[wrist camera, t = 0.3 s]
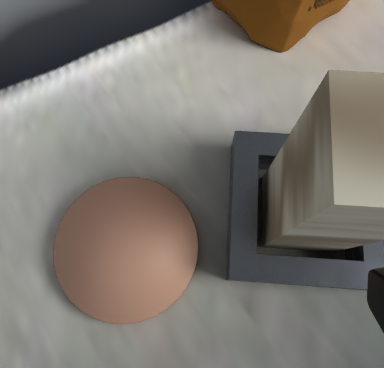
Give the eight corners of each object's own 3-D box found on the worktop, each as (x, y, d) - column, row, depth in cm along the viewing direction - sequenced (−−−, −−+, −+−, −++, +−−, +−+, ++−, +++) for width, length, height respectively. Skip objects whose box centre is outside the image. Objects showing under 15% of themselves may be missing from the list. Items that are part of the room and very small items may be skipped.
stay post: (334, 251, 22) (492, 214, 10) (261, 246, 23) (334, 204, 10) (331, 182, 24) (469, 77, 12) (262, 178, 24) (328, 70, 12)
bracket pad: (215, 299, 22) (215, 299, 21) (71, 340, 21) (66, 342, 20) (177, 165, 24) (177, 161, 23) (48, 200, 24) (43, 197, 23)
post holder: (372, 290, 22) (393, 291, 19) (225, 279, 22) (229, 279, 20) (362, 153, 24) (381, 139, 22) (231, 145, 24) (235, 130, 22)
